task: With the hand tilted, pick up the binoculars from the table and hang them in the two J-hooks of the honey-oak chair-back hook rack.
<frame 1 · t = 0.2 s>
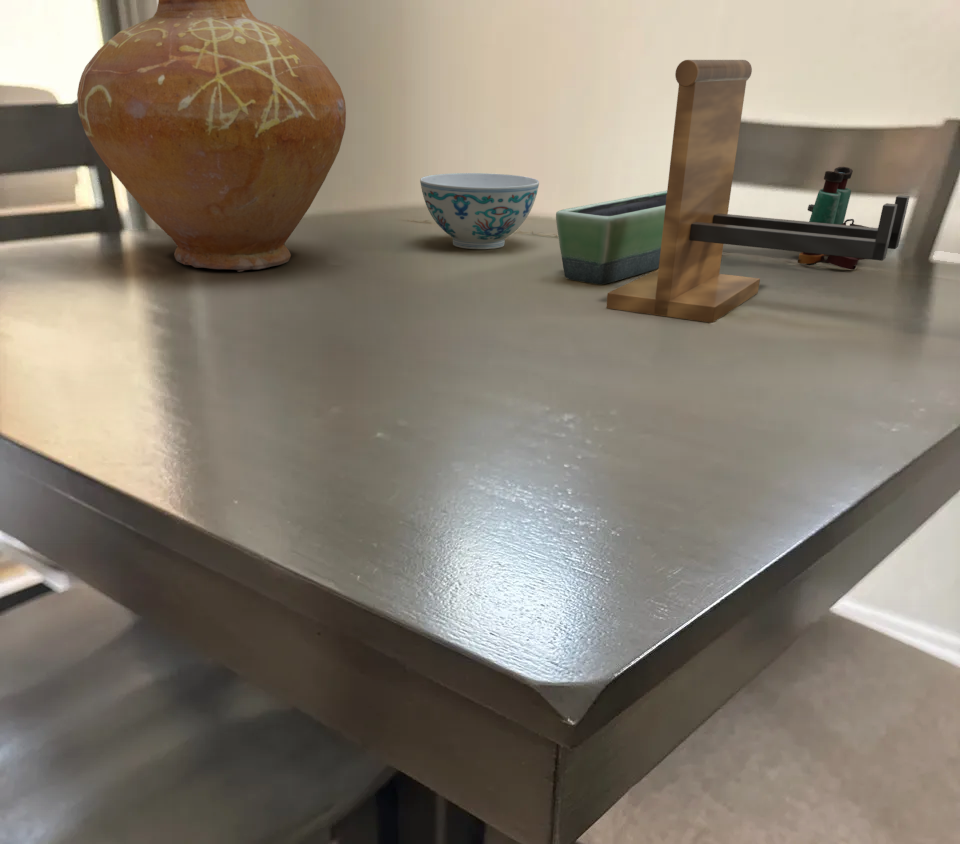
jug: (232, 263, 114), on the table
planter: (638, 269, 116), on the table
binoculars: (838, 266, 120), on the table
hook rack: (795, 315, 96), on the table
chinaware: (478, 246, 127), on the table
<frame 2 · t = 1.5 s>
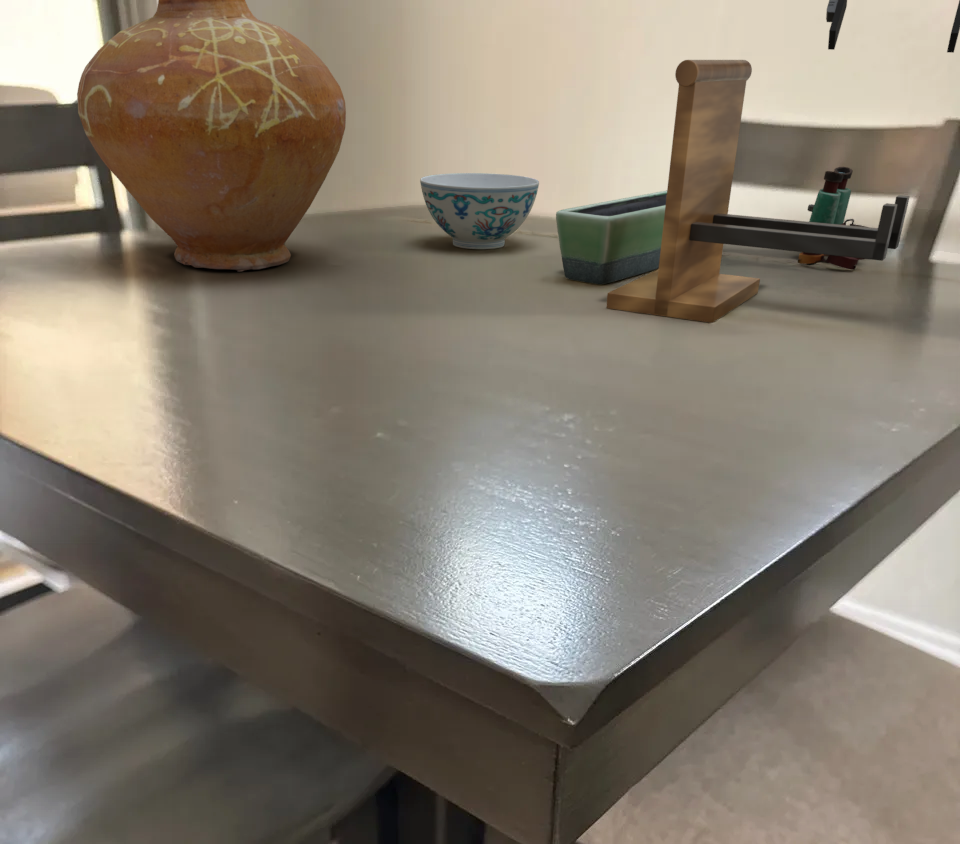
hand: (890, 41, 116), 24 cm above the table, tool tilted 45°, fingers open, 13 cm apart
nothing on the table moved.
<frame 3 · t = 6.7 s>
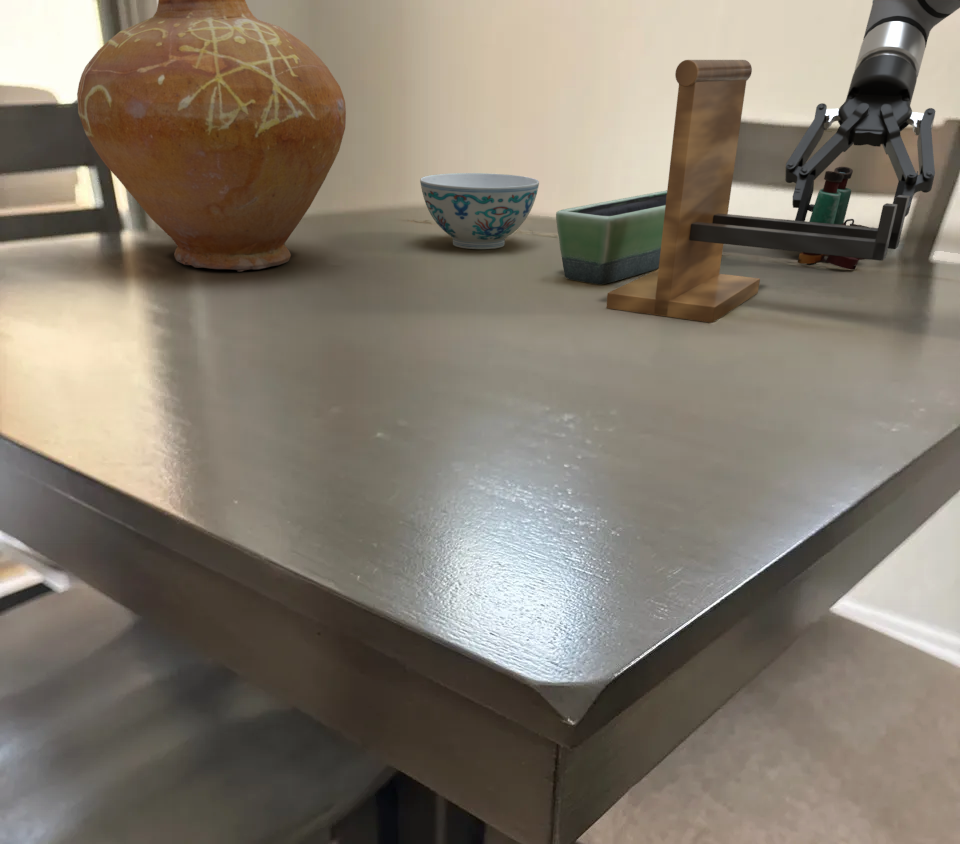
hand: (842, 232, 115), 4 cm above the table, tool tilted 45°, fingers closed on binoculars, 10 cm apart
binoculars: (838, 266, 120), on the table, touching gripper
everything else where it was.
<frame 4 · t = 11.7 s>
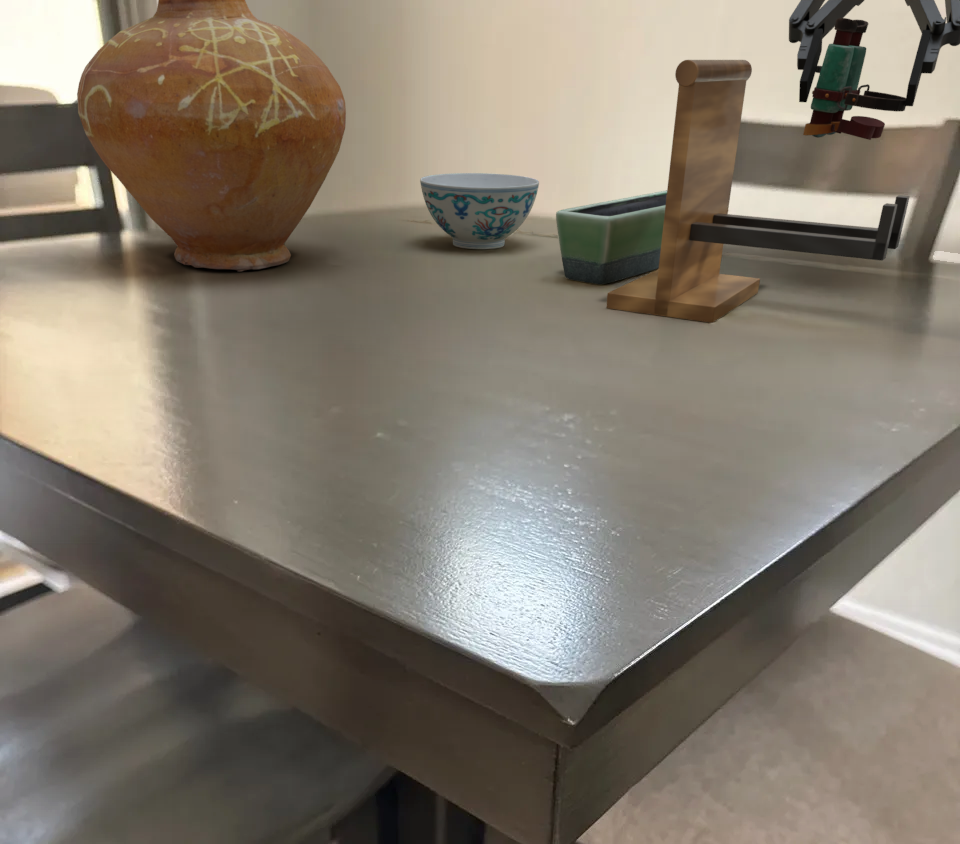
hand: (855, 93, 98), 19 cm above the table, tool tilted 45°, fingers closed on binoculars, 10 cm apart
binoculars: (850, 140, 102), point 14 cm above the table, touching gripper
everything else where it was.
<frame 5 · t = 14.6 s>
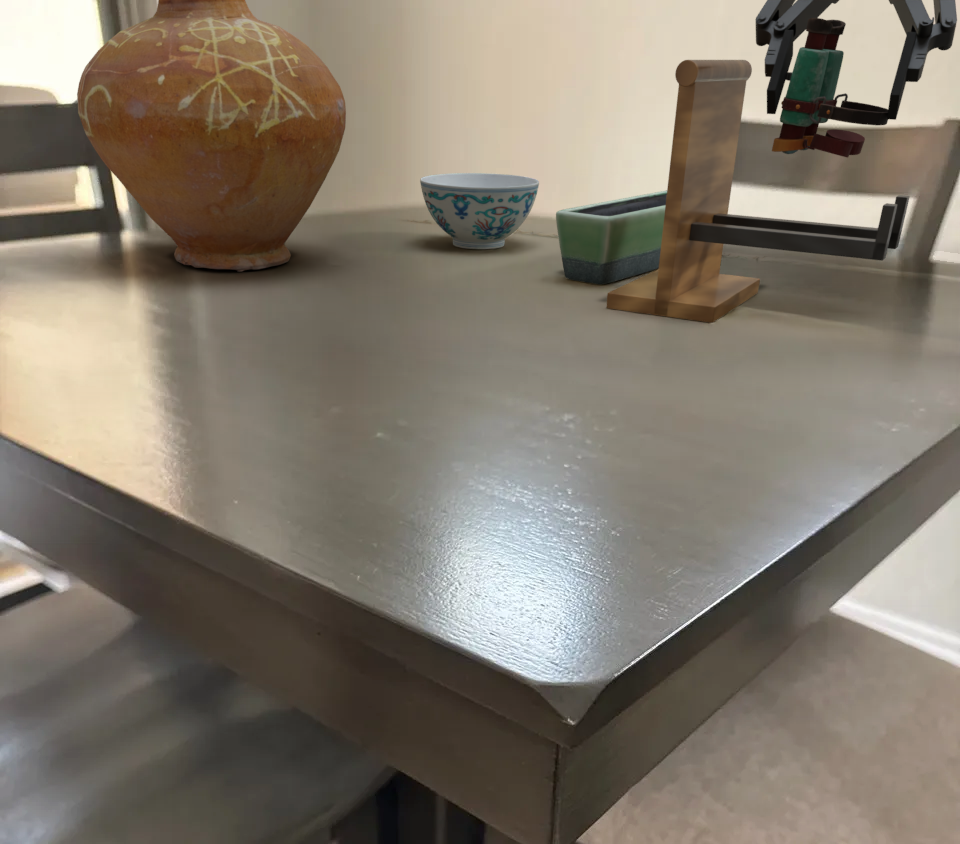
hand: (830, 104, 85), 18 cm above the table, tool tilted 45°, fingers closed on binoculars, 10 cm apart
binoculars: (826, 156, 90), point 14 cm above the table, touching gripper
everything else where it was.
when the fingers open (12 cm above the table, at t = 16.9 s): binoculars stays where it is, resting on hook rack.
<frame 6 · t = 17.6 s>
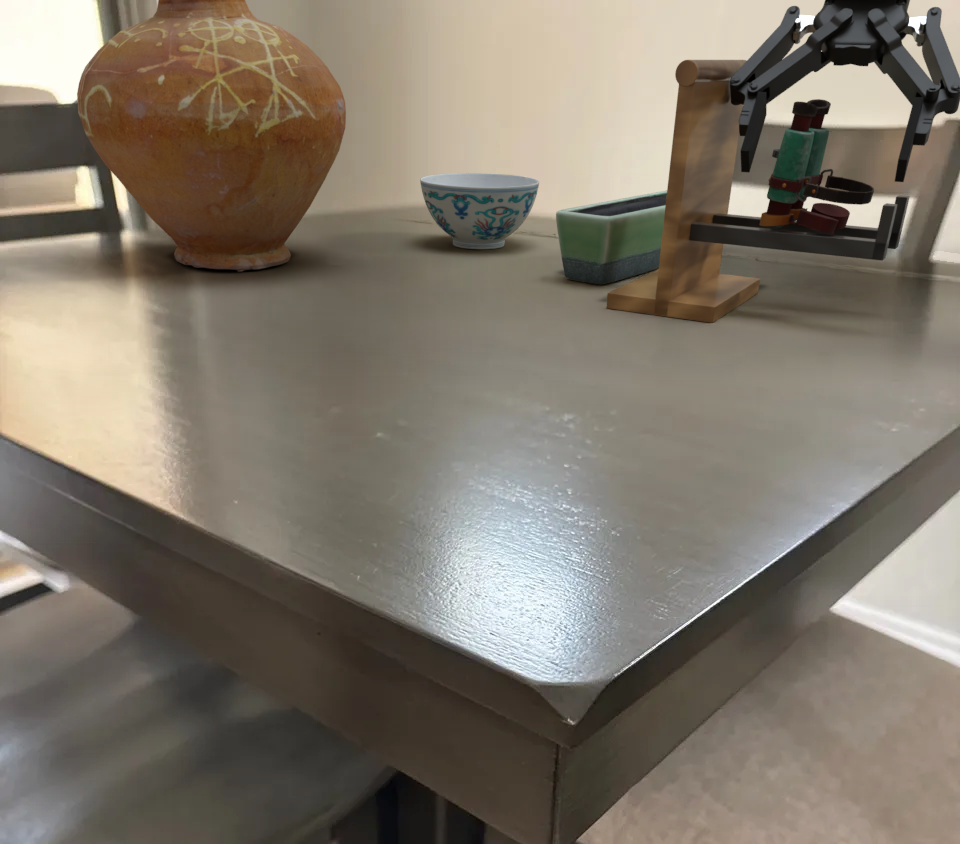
hand: (820, 166, 87), 13 cm above the table, tool tilted 45°, fingers open, 13 cm apart
binoculars: (812, 230, 92), point 8 cm above the table, touching hook rack
everything else where it was.
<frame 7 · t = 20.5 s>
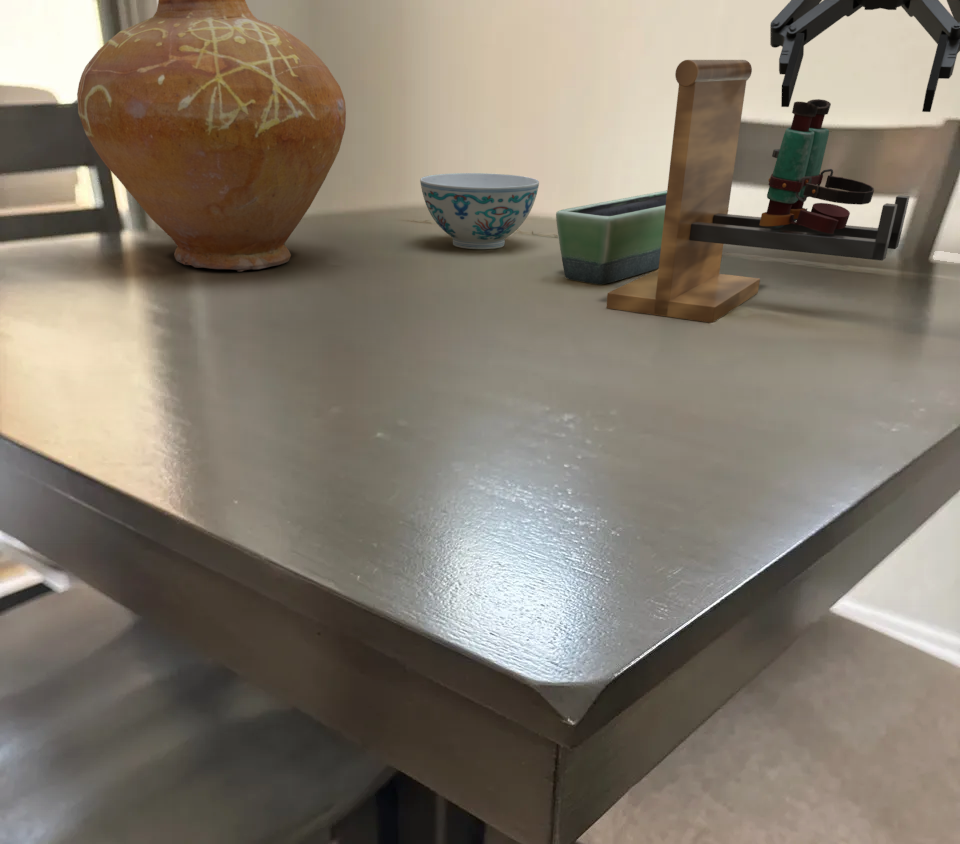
hand: (854, 99, 97), 18 cm above the table, tool tilted 45°, fingers open, 13 cm apart
nothing on the table moved.
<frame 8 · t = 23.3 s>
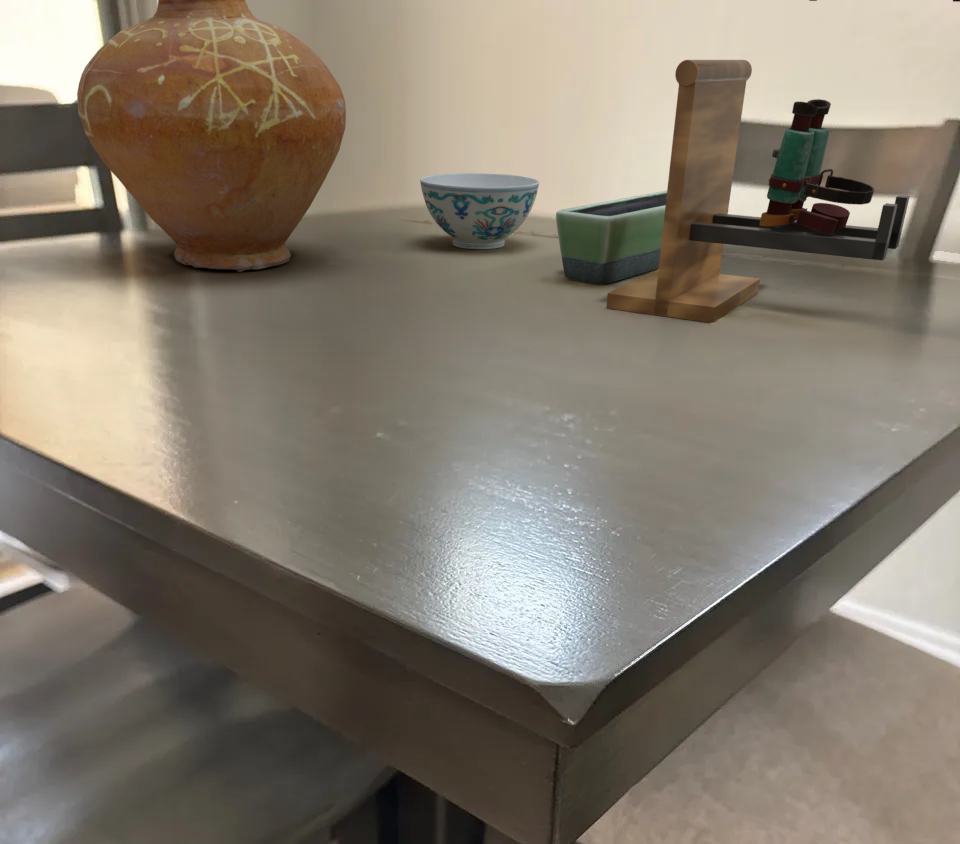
nothing on the table moved.
at the end: binoculars inside the target area on the hook rack (0.1 cm from its centre), point 7.8 cm above the hook rack's base; the gripper is holding nothing; binoculars tilted 0° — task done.
